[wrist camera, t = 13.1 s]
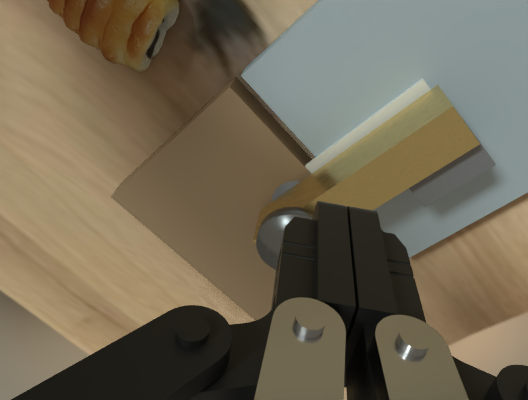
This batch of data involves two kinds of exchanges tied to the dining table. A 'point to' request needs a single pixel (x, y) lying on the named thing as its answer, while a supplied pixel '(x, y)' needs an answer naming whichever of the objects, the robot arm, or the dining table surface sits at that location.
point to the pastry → (120, 26)
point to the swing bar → (372, 167)
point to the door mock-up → (342, 130)
